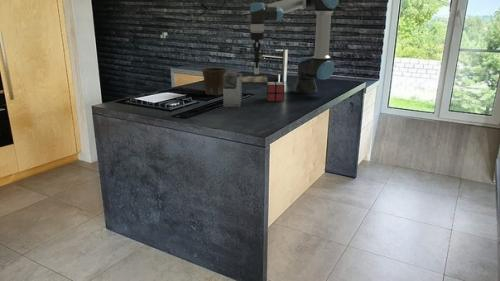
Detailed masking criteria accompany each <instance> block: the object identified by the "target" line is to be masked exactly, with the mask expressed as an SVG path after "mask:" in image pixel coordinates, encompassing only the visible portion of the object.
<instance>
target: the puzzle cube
mask: <svg viewBox="0 0 500 281" xmlns="http://www.w3.org/2000/svg"><path fill="white" fill-rule="evenodd" d="M266 100H267V102H284V101H285V84H284V81H283V82H282V81H279V82H278V81H277V82H275V81H267V82H266Z"/></svg>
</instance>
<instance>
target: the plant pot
mask: <svg viewBox="0 0 500 281" xmlns="http://www.w3.org/2000/svg"><path fill="white" fill-rule="evenodd" d="M201 71H202V76H203V81H204V82H203V83H204V91H205V92H204V93H205V94H206V95H207V96H223V95H222V94H223V88H224V81H223V76H224V74H225V73H227V71H228V68H225V67H224V68H223V67H207V68H202V69H201Z"/></svg>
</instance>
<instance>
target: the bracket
mask: <svg viewBox="0 0 500 281" xmlns="http://www.w3.org/2000/svg"><path fill="white" fill-rule="evenodd" d="M239 76H242V73H240V72H237V84H236V86H224V88H223V95H222V97H223V99H222V101H223V104H222V105H223V107H230V108H231V107H233V108H235V107H237V108H238V107H241V106H242V104H241V102H242V100H243V98H242V96H243V94H242V92H243V90H242V88H243V86H242V85H243V84H242V83H243V82H240V78H238V77H239ZM242 77H243V76H242Z"/></svg>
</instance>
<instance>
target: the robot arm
mask: <svg viewBox="0 0 500 281" xmlns="http://www.w3.org/2000/svg"><path fill="white" fill-rule="evenodd" d="M338 4H339V0H279V1H275V2H272V3H268V4H266V5H265V3H264V2H252V3H251V4H250V10H249V13H250V14H249V15H250V20H249V22H250V25H249V27H248V28H250V31H249V32H250V34H249V35H250V36H249V37H250V40H251V41H252V40H254V42H253V45H252V46H253V51H254V58H253V63H254V65H253V68H254V69H253V72H254V73H253V74H254V75H260V61H261V57H260V51H261V45H262V44H261V42H260V41H262V40H264V39H265V33H264V32H265V22H279V21H281V20H282V19H283V17H284V14H286V13H291V12H293V11H296V10H306V9H314V12H313V13H315V15H316V24H315V25H316V26H315V44H314V55H313V56H305V57H299V58H298V61H297V76H296V77H297V78H296V83H295V85H294V90H293V91H294V93H296V94H297V93H298V94H303V95H304V94H305V95H307V94H308V95H309V94H311V95H312V94H316V93H318V88H317V85H316V79H318V80H327V79H329V78H331V77H332V75H333V73H334V71H335V65H334V63H333V62H332V61H331V60H332V57H331V56H330V53H329V51H330V41H331V40H330V36H331V24H332V23H331V22H332V14H333V13H334V12H335V9H336V7H337V6H338Z"/></svg>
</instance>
